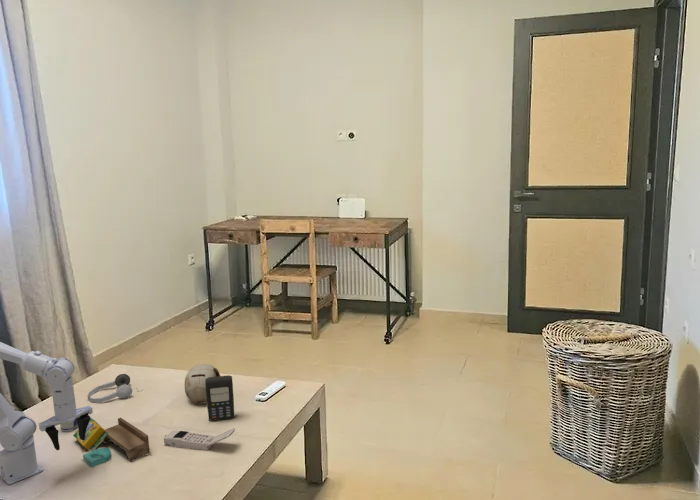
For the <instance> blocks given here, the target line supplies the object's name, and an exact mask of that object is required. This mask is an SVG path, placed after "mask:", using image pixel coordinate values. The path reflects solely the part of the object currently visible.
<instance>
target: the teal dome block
mask: <svg viewBox="0 0 700 500" xmlns="http://www.w3.org/2000/svg"><path fill="white" fill-rule="evenodd" d="M82 458H83V461H84V462H85V463H86V464H87V465H88V466H90V467H91V468H94V467H97V466H99V465H100V464H103V463H106V462H109V460H110V459H111V458H112V452H111V448H109V447H99V448H96V449H95V450H93V451H89V452H87V453H84V454H82Z"/></svg>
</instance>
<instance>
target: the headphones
mask: <svg viewBox="0 0 700 500" xmlns="http://www.w3.org/2000/svg"><path fill="white" fill-rule="evenodd" d="M130 383H131V377H130V376H129V375H128V374H126V373H120V374H118V375H116V377H115V379H114V381H107V382H105V383H103V384H101V385H98V386H97V387H94V388H93V389H92V390H90V391H89V392H88V393H87V399H88V401H89V402H90V403H98V404H99V403H103V402H106V401H110V400H113V399H115V398H116V397H117V398H119V399H121V400H124V399H127V398H129V397H131V395H132V393H133V388H132V386H131V385H130ZM115 386H116V387H117V388H116V390H115V391H116V392H112V393H109V394H106V395H105V396H103V397H99V398H93V397H92V396H93V395H94V394H95V393H98V392H99V391H100V390H103V389H104V390H105V389H107V388H112V387H115ZM135 389H137V390H136V391H137V393H138V392H139V393H140V392H142V391H143V390H145V389H144V388H143V389H141V390H139V389H138V388H137V387H136V388H134V390H135ZM91 397H92V398H91Z"/></svg>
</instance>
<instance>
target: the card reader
mask: <svg viewBox="0 0 700 500" xmlns="http://www.w3.org/2000/svg"><path fill="white" fill-rule="evenodd" d="M205 384H206V396H207V402H206V406H207V407H206V408H207V415H208V420H209V421H213V422H214V421H221V420H230V419H233V418H235V403H234V401H235V399H234V386H233V385H234V384H233V376H232V375H228V374H227V375H220V376H218V377H208V378H206V379H205Z"/></svg>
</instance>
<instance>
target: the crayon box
mask: <svg viewBox="0 0 700 500" xmlns="http://www.w3.org/2000/svg"><path fill="white" fill-rule="evenodd" d="M107 434H108V433H107V432H106V431H105V429H104V428H103V426H101V425H100V424H99V423H98V422H97V421H96V420H94V419H93V418H92V417H90V422H89V424H88V426H87V429H86V434H85V440H83V441H82V440H81V439H80V437H79V430H78V429H77V430H76V431H75V432H74V434H73V435H72V436H73V437H74V438H75V439H76V441H78V442H79V443H80V445H82V447H83V448H85V449H87V450H88V451H89V452H91V451H93V450H96V449H98V446H99V445H100V444H101V443H102V442H103V439H104V438H105V437H106V436H107Z"/></svg>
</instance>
